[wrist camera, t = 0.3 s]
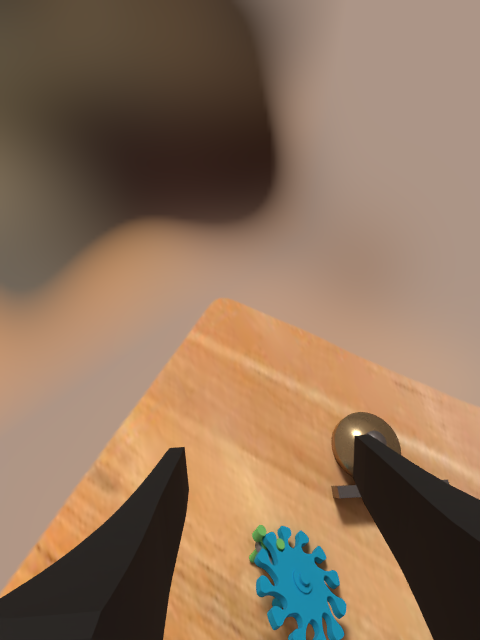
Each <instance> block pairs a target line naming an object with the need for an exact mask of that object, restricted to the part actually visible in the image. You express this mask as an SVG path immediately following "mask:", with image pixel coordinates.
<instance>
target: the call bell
mask: <svg viewBox="0 0 480 640" xmlns="http://www.w3.org/2000/svg"><path fill="white" fill-rule="evenodd" d="M365 434H369V435H371V436H373V437H374V438H376V439H377V440H379V441H380V442H382V443H383V444H385V445H386V446H388V447H389V448H391V449H392V450H394V451H395V452H397V453H398V454H400V455H401V448H400V443H399V440H398V438H397V436H396V434H395V432H394V431H393V429H392V428H391V427H390V426H389V425H388V424H387V423H386V422H385V421H384V420H382V419H381V418H379V417H377V416H376V415H373V414H370V413H365V412H358V413H353V414H350V415H348V416H347V417H345V418H344V419H343V420H341V421H340V422H339V423H338V424H337V425H336V427H335V429H334V431H333V434H332V450H333V453H334V456H335V458H336V460H337V462H338V463H339V465H340V466H341V467H342V469H343V470H345V471H346V472H347V473H348V474H349V475H351V476H353V464H354V437H355V435H365Z"/></svg>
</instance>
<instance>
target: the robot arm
mask: <svg viewBox="0 0 480 640" xmlns="http://www.w3.org/2000/svg"><path fill="white" fill-rule="evenodd" d="M353 478H354V481H355V483H356V485H357V488H358V490H359V493H360V495H361V497H362V499H363V502H364V504H365V505H366V507H367V509H368V511H369V513H370V514H371V516H372V518H373V520H374V522H375V523H376V525H377V527H378V529H379V530H380V532H381V534H382V536H383V537H384V539H385V541H386V543H387V544H388V546H389V548H390V550H391V551H392V553H393V555H394V557H395V558H396V560H397V562H398V564H399V566H400V568H401V570H402V572H403V573H404V576H405V578H406V580H407V582H408V584H409V586H410V588H411V591H412V593H413V595H414V597H415V599H416V601H417V603H418V606H419V608H420V610H421V612H422V614H423V617H424V619H425V621H426V624H427V626H428V628H429V630H430V633H431V635H432V637H433V639H434V640H480V500H479V499H477V498H475V497H473V496H471V495H469V494H467V493H465V492H463V491H461V490H459V489H457V488H455V487H453V486H451V485H449V484H448V483H446V482H444V481H442V480H440V479H439V478H437V477H435V476H434V475H432V474H430V473H428V472H427V471H425V470H423V469H422V468H420V467H419V466H417V465H415V464H414V463H412V462H411V461H409V460H408V459H406V458H405V457H403V456H401V455H400V454H398V453H397V452H395V451H394V450H392V449H391V448H389V447H388V446H386V445H385V444H383V443H382V442H380V441H379V440H377V439H376V438H374V437H373V436H371V435H369V434H365V435H355V437H354V464H353ZM188 493H189V485H188V476H187V466H186V457H185V447H179V448H170V449H169V450H168V451H167V452H166V453H165V455H164V456H163V457H162V459H161V460H160V461H159V463H158V464H157V465H156V467H155V468H154V469H153V470H152V472H151V473H150V474H149V475H148V477H147V478H146V479H145V480H144V481H143V483H142V484H141V485H140V486H139V487H138V489H137V490H136V491H135V492H134V493H133V494H132V495H131V496H130V498H129V499H128V500H127V501H126V502H125V503H124V504H123V505H122V506H121V507H120V508H119V509H118V510H117V511H116V512H115V513H114V514H113V515H112V516H111V517H110V518H109V519H108V520H107V521H106V522H105V523H104V524H103V525H102V526H100V527H99V528H98V529H97V530H96V531H94V532H93V533H92V534H91V535H90V536H88V537H87V538H86V539H85V540H84V541H82V542H81V543H80V544H79V545H78V546H76V547H75V548H74V549H73V550H71V551H70V552H69V553H67V554H66V555H65V556H63V557H62V558H61V559H59V560H58V561H57V562H55V563H54V564H52V565H51V566H50V567H48V568H47V569H45V570H44V571H42V572H41V573H39V574H38V575H36V576H35V577H33V578H32V579H30V580H29V581H27V582H26V583H24V584H22V585H21V586H19V587H18V588H16V589H15V590H13V591H11V592H10V593H8V594H7V595H5V596H3V597H2V598H0V640H163V635H164V628H165V621H166V613H167V606H168V599H169V592H170V587H171V581H172V576H173V572H174V567H175V563H176V558H177V554H178V549H179V545H180V540H181V536H182V531H183V527H184V522H185V517H186V511H187V502H188Z"/></svg>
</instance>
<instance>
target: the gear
mask: <svg viewBox="0 0 480 640" xmlns="http://www.w3.org/2000/svg"><path fill="white" fill-rule="evenodd" d="M277 533H278V536H279V538H278V539H277V538H276V535H275V533H274V532H270V533H268V534H266V529H265V527H264V526H262V525H259V526H258V527H257V529H256V530H255V531H254V532H253V534H252V537H253V539H254V541H256V543H255V548H256V549H255V550H254V552H253V553H252V554H251V555H250V556H249V559H250V561H251V562H252V563H253V562H255V564H256V565H257V566H258V567H260V568H262V569H264V570H265V571H266V572H267V573H268V574H269V575H270V576H271V578H272V580H273V581H274V585H275V586H273V585H272V584H271V583H270V581H269V580H268V578H267V577H266V576H264V575H262V576H260V577H259V578H258V579H257V582H256V591H257V595H258V596H259V597H264V596H267V595H270V596H273V597H275V598H274V599H273V601H272V606H273V607H272V608H271V609H270V610H269V611H268V613H267V616H268V619H269V622H270V625H271V627H272V629H273V630H277V629H278V628H279V627H280V626H281V625H282V624H283V622H284V620H285V618H286V617H294V618H295V619H296V621H297V623H298V629H295V630H294V631H293V632H292V633H291V634H290V635H289V637H288V640H306V628H307V625H308V623H310V624H311V625H312V627H313V629H314V632H315V635H314V638H313V640H326V638H325V635H324V631H323V626H322V617H323V618H324V619H325V621H326V624H327V635H328V638H329V640H340V639H342V638H343V636H344V631H343V629H342V627H341V626H340V625H339V624H338V622H337V621H336V620H335V618H334V617H333V615H332V613H331V611H330V608H329V606H328V603H327V601H328V602H329V603H330V605H331V608H332V611H333V613H334V615H335V616H336V617H337V618H338V619H340V618H341V617H343V616H344V615H345V613H346V603H345V601H344V600H343V599H341V598H339V597H337V596H335V595H334V594H333V593H332V592H331V591H330V590H329V588H328V587H327V586H326V584H325V582H326V583H327V584H328V586H329V587H330V588H332V589H336V588H337V587H338V586H339V585H340V582H339V578H338V574H337V572H336V571H334V570H331V571H324V570H322V569H320V568H319V567H317V565H316V564H315V562H317V563H319V564H321V563H322V562H323V561H324V560H325V559H326V555H325V553H324V551H323V550H322V548H321V547H320V546H318V547H316V548H315V549H314V550H313V552H312V554H306V553H304V552H303V550H302V547H304V546H305V545H306V544H307V543H308V542H309V538H308V536H307V535H306V534H305V533H304V532H302V531H301V530H300V531H299V532H298V533H297V534H296V536H295V547H294V548H292V547H290V546H289V544H288V538H289V537H290V536H291V530H290V529H289V528H288V527H285V526H281V527H280V528H279V529H278V532H277ZM324 581H325V582H324ZM282 608H283V609H282Z"/></svg>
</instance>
